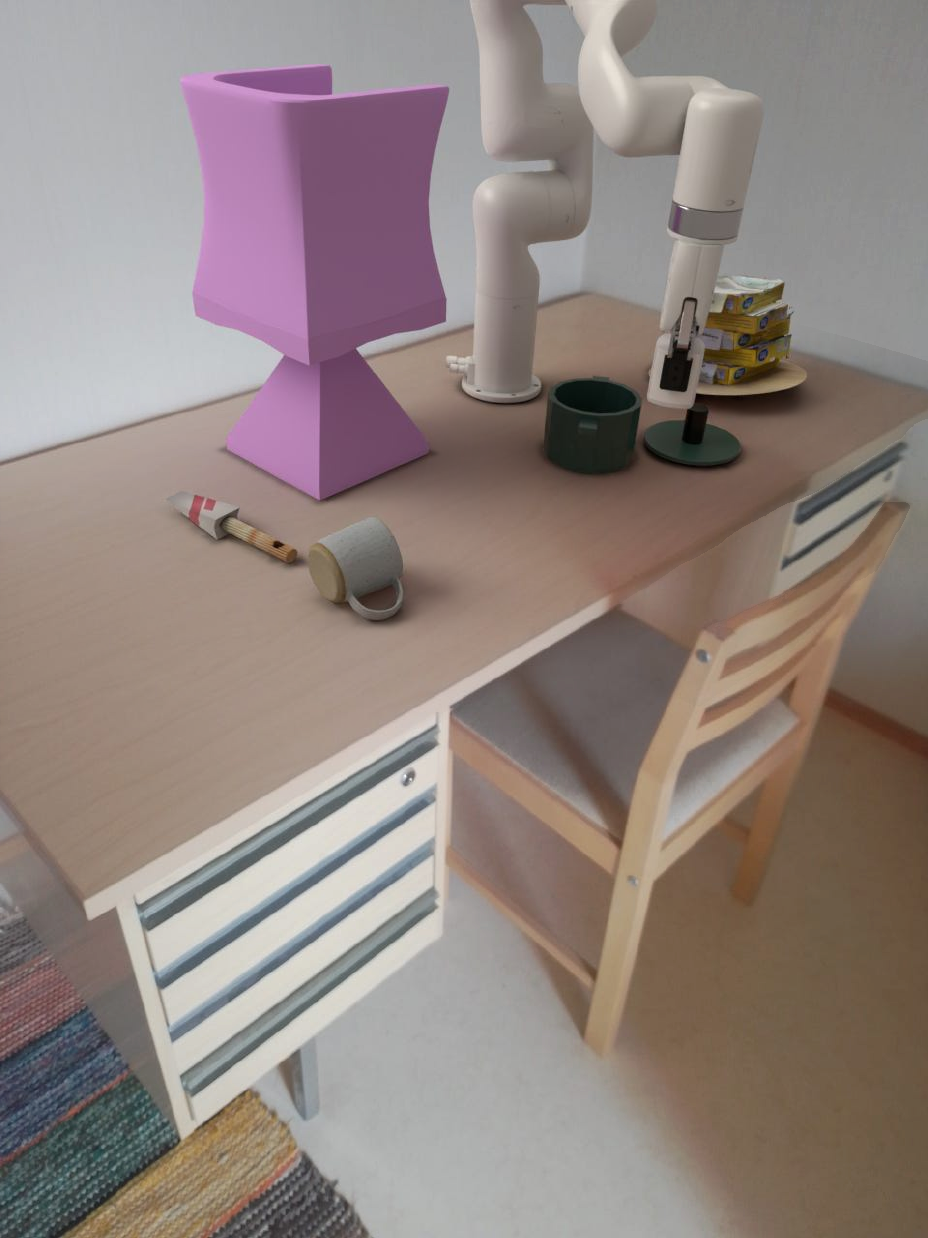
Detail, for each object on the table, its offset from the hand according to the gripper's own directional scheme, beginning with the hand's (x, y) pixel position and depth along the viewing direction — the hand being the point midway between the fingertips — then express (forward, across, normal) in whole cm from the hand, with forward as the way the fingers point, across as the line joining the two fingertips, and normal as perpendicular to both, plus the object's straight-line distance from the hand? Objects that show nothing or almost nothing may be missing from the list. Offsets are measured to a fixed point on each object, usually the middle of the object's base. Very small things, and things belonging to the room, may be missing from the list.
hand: (673, 381), depth 113 cm
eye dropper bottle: (+3, 0, 0) cm, 3 cm away
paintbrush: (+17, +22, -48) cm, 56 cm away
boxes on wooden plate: (+18, -44, +10) cm, 49 cm away
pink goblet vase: (+18, -2, -44) cm, 48 cm away
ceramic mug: (+17, +30, -29) cm, 45 cm away
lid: (+16, -18, +5) cm, 25 cm away
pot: (+17, -12, -9) cm, 23 cm away
